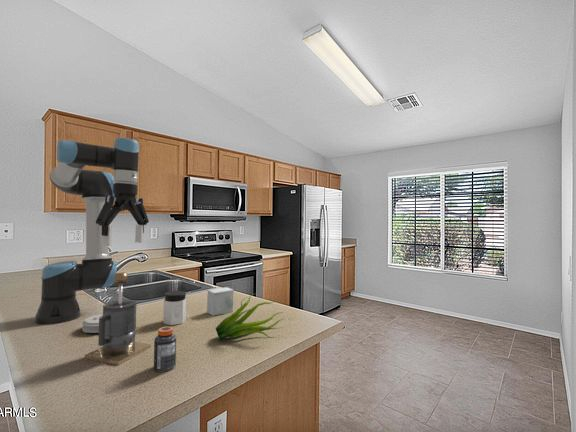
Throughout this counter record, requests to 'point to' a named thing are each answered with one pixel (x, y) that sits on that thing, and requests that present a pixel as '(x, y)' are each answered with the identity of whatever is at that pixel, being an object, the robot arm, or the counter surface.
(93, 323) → the white round disc
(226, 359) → the counter surface
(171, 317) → the jar
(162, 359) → the pill bottle
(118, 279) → the plunger
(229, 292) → the skincare box
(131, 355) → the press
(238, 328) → the decorative plant
